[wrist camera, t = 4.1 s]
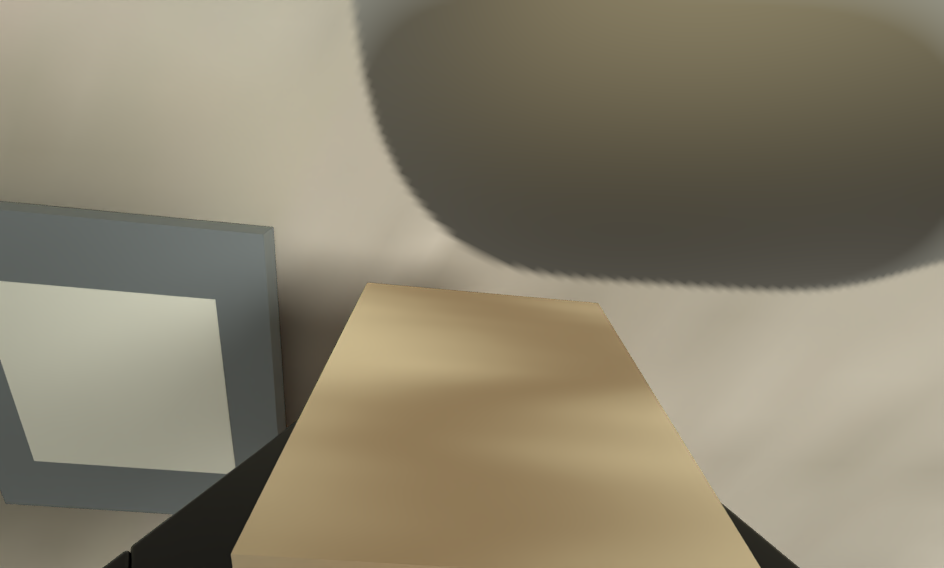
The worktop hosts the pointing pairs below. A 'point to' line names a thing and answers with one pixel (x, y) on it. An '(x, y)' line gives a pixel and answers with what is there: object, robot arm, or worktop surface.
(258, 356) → the grey framed square tile
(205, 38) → the worktop surface
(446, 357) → the oak block
